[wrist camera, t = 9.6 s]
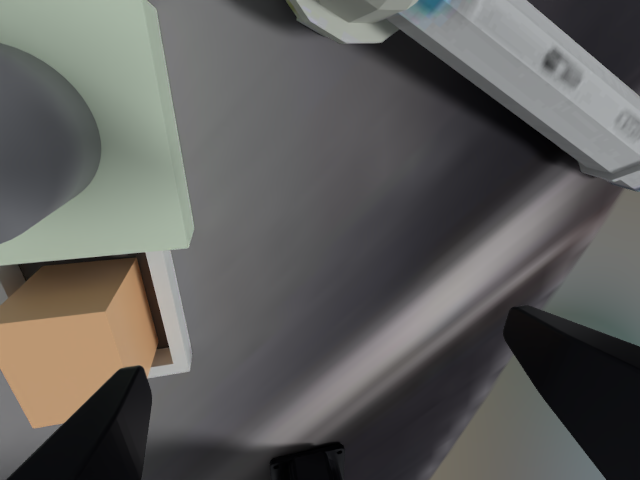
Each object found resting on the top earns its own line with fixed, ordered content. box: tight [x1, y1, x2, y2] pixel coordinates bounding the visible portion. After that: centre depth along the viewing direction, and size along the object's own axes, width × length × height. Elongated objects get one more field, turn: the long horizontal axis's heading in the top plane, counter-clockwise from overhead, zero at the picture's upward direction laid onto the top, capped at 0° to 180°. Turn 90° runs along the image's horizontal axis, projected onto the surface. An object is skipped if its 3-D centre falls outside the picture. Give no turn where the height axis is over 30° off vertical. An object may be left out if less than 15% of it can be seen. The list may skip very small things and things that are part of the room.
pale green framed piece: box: [0, 0, 194, 378], centre depth 14 cm, size 19×11×6 cm, turn 0°
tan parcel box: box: [0, 257, 159, 429], centre depth 17 cm, size 6×4×5 cm
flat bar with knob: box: [286, 0, 640, 192], centre depth 16 cm, size 5×7×25 cm
